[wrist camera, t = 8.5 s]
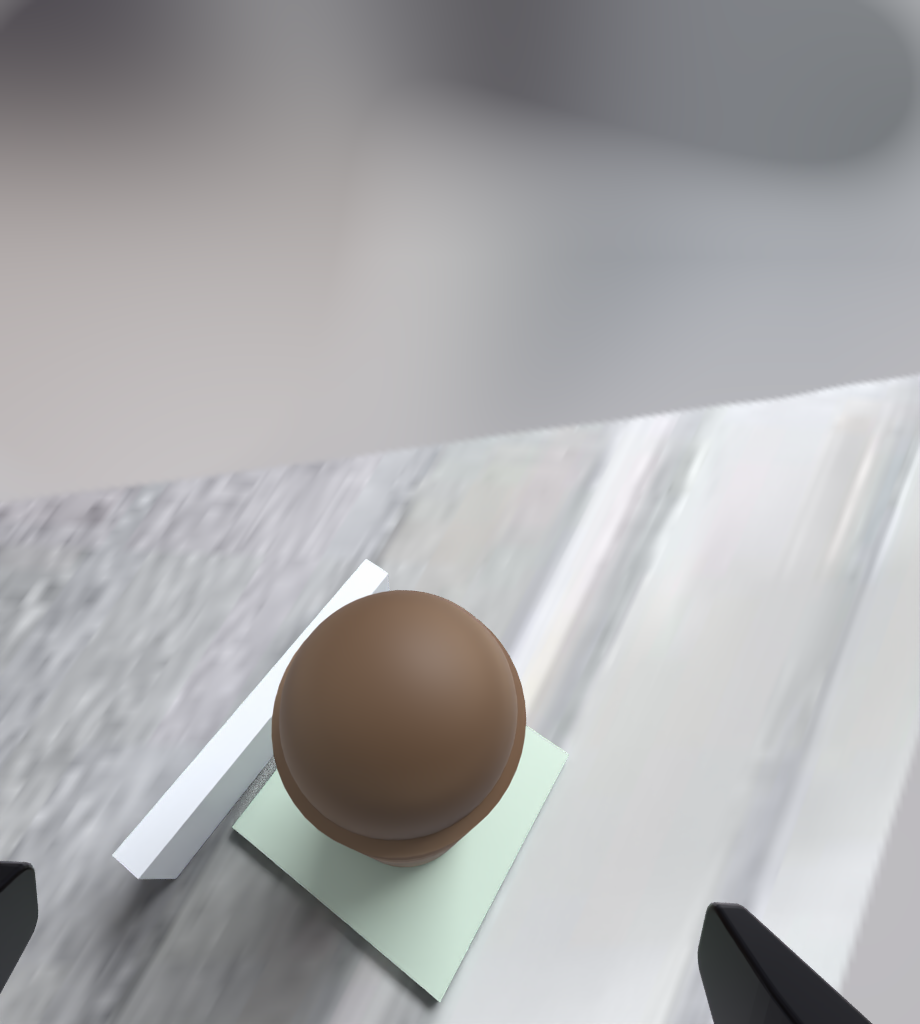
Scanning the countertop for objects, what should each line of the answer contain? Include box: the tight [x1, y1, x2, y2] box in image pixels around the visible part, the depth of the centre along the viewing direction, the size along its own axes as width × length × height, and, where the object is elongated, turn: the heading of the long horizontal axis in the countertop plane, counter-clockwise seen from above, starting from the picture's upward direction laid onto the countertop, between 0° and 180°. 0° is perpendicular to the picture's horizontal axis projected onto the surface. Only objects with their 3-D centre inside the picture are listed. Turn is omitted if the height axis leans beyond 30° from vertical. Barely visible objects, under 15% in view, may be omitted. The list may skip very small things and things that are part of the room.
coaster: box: [232, 725, 569, 1002], centre depth 20 cm, size 8×8×1 cm
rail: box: [112, 559, 390, 879], centre depth 20 cm, size 11×1×3 cm, turn 146°
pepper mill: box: [271, 590, 526, 867], centre depth 14 cm, size 4×4×13 cm
